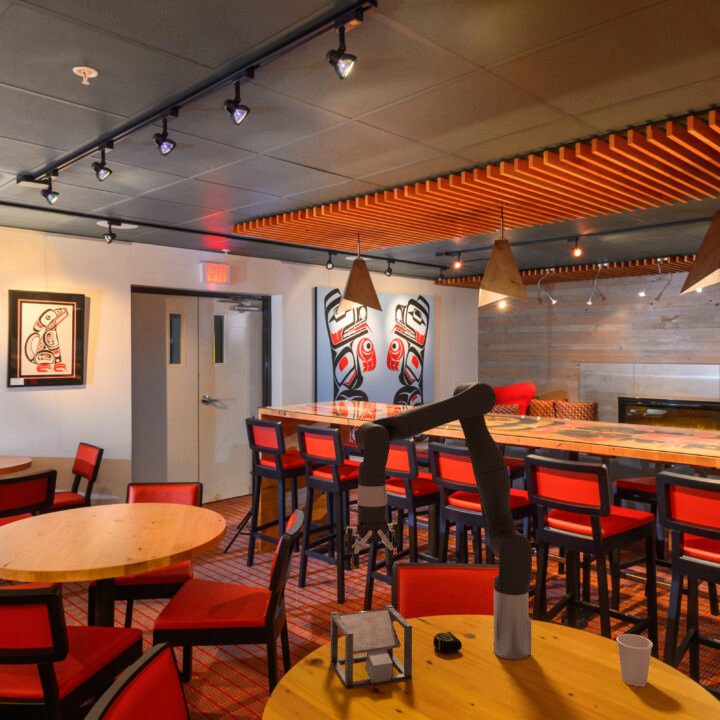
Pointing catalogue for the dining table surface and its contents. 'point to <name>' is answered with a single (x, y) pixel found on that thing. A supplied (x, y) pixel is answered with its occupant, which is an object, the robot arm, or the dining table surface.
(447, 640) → the tape measure
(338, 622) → the frame
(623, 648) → the dixie cup
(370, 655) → the gray cube
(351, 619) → the trapdoor
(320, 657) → the dining table surface
